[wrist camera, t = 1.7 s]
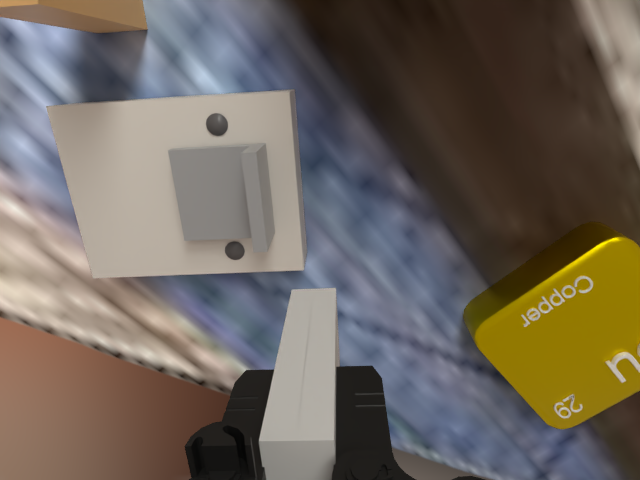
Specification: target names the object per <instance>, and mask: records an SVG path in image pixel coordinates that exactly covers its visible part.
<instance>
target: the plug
mask: <svg viewBox="0 0 640 480" xmlns="http://www.w3.org/2000/svg"><path fill="white" fill-rule="evenodd" d="M0 17H4V18H10V19H16V20H22V21H28V22H34V23H40V24H46V25H51V26H57V27H63V28H69V29H75V30H81V31H87V32H92V33H109V32H123V31H136V30H148V29H147V23H146V18H145V12H144V7H143V2H142V0H0Z"/></svg>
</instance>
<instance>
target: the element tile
mask: <svg viewBox="0 0 640 480" xmlns="http://www.w3.org/2000/svg"><path fill="white" fill-rule="evenodd" d="M463 318H464V321H465V324H466V326H467V328H468V330H469V332H470V334H471V336H472V338H473V340H474V342H475V344H476V346H477V347H478V349H479V350H480V351H481V352H482V353H483V355H484V356H485V357H486V358H487V359H488V360H489V361H490V362H491V363H492V364H493V366H494V367H495V368H496V369H497V370H498V371H499V372H500V373H501V374H502V375H503V377H504V378H505V379H506V380H507V381H508V382H509V383H510V384H511V385H512V386H513V388H514V389H515V390H516V391H517V392H518V393H519V394H520V395H521V396H522V397H523V399H524V400H525V401H526V402H527V403H528V404H529V405H530V406H531V407H532V408H533V410H534V411H535V412H536V413H537V414H538V415H539V416H540V417H541V418H542V419H543V421H544V422H545V423H546V424H548V425H549V426H552V427H554V428H556V429H567V428H571V427H574V426H576V425H579V424H580V423H582V422H584V421H586V420H588V419H589V418H591V417H593V416H595V415H597V414H598V413H600V412H602V411H604V410H606V409H607V408H609V407H611V406H613V405H615V404H616V403H618V402H620V401H622V400H624V399H625V398H627V397H629V396H631V395H633V394H634V393H636V392H638V391H640V247H639V246H638V245H637V244H636V243H635V242H634V241H633V240H631V239H629V238H628V237H626V236H624V235H622V234H621V233H619V232H617V231H615V230H614V229H612V228H610V227H608V226H606V225H604V224H602V223H600V222H589V223H585V224H582V225H580V226H578V227H577V228H575V229H573V230H572V231H570V232H569V233H568V234H566V235H565V236H563V237H562V238H560V239H559V240H557V241H556V242H555V243H553V244H552V245H550V246H549V247H547V248H546V249H544V250H543V251H542V252H540V253H539V254H537V255H536V256H534V257H533V258H531V259H530V260H529V261H527V262H526V263H524V264H523V265H521V266H520V267H519V268H517V269H516V270H514V271H513V272H511V273H510V274H508V275H507V276H506V277H504V278H503V279H501V280H500V281H498V282H497V283H495V284H494V285H493V286H491V287H490V288H488V289H487V290H485V291H484V292H482V293H481V294H480V295H478V296H477V297H475V298H474V299H473V300H471V301H470V302H469V303H468V305H467V306H466V308H465V309H464V314H463Z"/></svg>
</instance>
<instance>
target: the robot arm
mask: <svg viewBox="0 0 640 480" xmlns="http://www.w3.org/2000/svg"><path fill="white" fill-rule="evenodd" d="M185 450H186V455H187V459H188V464H189V468H190V473H191V477H192V478H191V479H189V480H415V479H414V478H412V477H411V476H409V475H408V474H406V473H405V472H404V471H403V470H402V469H401V468H400V467H399V466H398V464H397V462H396V461H395V460H394V457H393V453H392V447H391V440H390V433H389V426H388V419H387V412H386V407H385V398H384V391H383V384H382V378H381V376H380V375H379V374H378V373H377V371H376V370H375V369H374V367H373V366H345V367H340V359H339V337H338V319H337V300H336V288H323V289H295V290H292V291H291V296H290V300H289V305H288V309H287V314H286V319H285V323H284V328H283V332H282V337H281V342H280V346H279V351H278V355H277V360H276V365H275V369H274V370H246V371H245V372H244V373H243V374H242V375H241V377H240V378H239V379H238V380H237V381H236V382H235V384H234V387H233V390H232V393H231V396H230V400H229V402H228V405H227V408H226V412H225V413H224V416H223V420H222V422H215V423H212V424H210V425H207V426H205V427H203V428H201V429H200V430H199V431H197V432H196V433H195V434H194V435H193V436H191V437H190V439H189V441H188V442H187V444H186V445H185ZM453 480H485V479H481V478H477V477H473V476H465V477H457V478H455V479H453Z"/></svg>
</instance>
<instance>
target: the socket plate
mask: <svg viewBox="0 0 640 480" xmlns="http://www.w3.org/2000/svg"><path fill="white" fill-rule="evenodd" d="M46 108H47V112H48V115H49V119H50V123H51V126H52V130H53V134H54V137H55V141H56V145H57V148H58V152H59V156H60V159H61V163H62V167H63V170H64V174H65V178H66V181H67V185H68V189H69V192H70V196H71V200H72V203H73V207H74V211H75V214H76V218H77V222H78V226H79V229H80V233H81V237H82V240H83V244H84V248H85V251H86V255H87V259H88V262H89V266H90V270H91V273H92V277H93V278H114V277H141V276H167V275H193V274H219V273H245V272H272V271H298V270H304V267H305V262H306V256H307V242H306V229H305V216H304V203H303V190H302V177H301V164H300V151H299V138H298V125H297V112H296V99H295V89H290V90H274V91H258V92H243V93H227V94H211V95H195V96H180V97H164V98H148V99H132V100H117V101H101V102H85V103H73V104H64V105H54V106H46ZM259 143H266V149H267V158H268V168H269V178H270V187H271V197H272V206H273V216H274V226H275V234H274V237H273V239H272V242H271V244H270V247H269V249H268V252H254V253H253V245H252V238H240V239H217V240H194V241H184V236H183V230H182V225H181V219H180V214H179V208H178V203H177V197H176V192H175V187H174V181H173V176H172V170H171V165H170V159H169V154H168V150H170V149H173V148H188V147H206V146H224V145H241V144H259Z"/></svg>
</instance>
